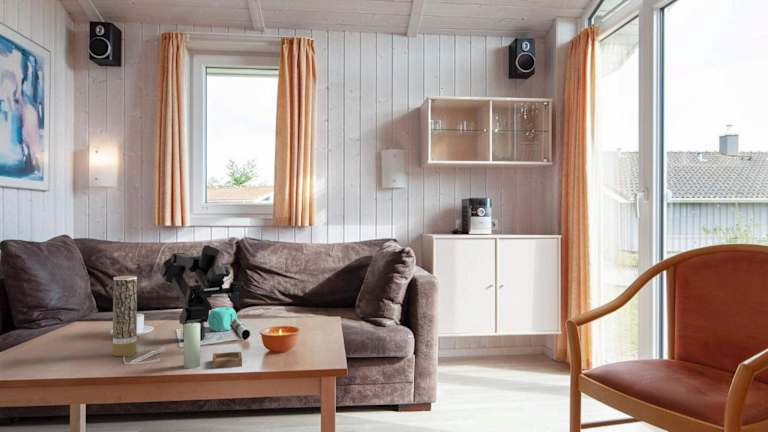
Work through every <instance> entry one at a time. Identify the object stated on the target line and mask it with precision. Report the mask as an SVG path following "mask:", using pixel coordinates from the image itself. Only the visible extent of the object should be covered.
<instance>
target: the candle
mask: <svg viewBox="0 0 768 432" xmlns="http://www.w3.org/2000/svg"><path fill="white" fill-rule="evenodd" d="M199 367H201V341H200V323H193V322H192V323H187V324H184V341H183V368H184V369H196V368H199Z"/></svg>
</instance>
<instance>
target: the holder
mask: <svg viewBox="0 0 768 432" xmlns="http://www.w3.org/2000/svg"><path fill="white" fill-rule="evenodd" d="M211 366H212V369H223V368H234V367H235V368H237V367H242V366H243V355H242V351H230V352H216V353H215V352H213V353H212V364H211Z"/></svg>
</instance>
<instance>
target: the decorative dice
mask: <svg viewBox="0 0 768 432" xmlns="http://www.w3.org/2000/svg"><path fill="white" fill-rule="evenodd" d="M233 319H237V320H238V315H237V312H236V310H235V309H234V308H232V307H228V306H227V307H217V308H212V310H210V311H209V316H208V321H207V324H208V327H209V328H210V329H211V330H212V331H213V330H218V331H217V332H222V331H221V330H228V331H230V330H229V329H231V327H230V324H231V322H232V321H233Z"/></svg>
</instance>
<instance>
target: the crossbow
mask: <svg viewBox="0 0 768 432" xmlns="http://www.w3.org/2000/svg"><path fill="white" fill-rule="evenodd" d="M163 352H166V347H165V346H162V347H159V349H157V350H156V349H152V351H148V352H147V351H146V352H144V354H143V355H141V356H139V357H137V358H135V359H132V360H131V361H129V362H126V360H125V359H126V357H129V356H130V355H127V356H122V357H123V363H124V364H125V365H128V366H135V365H143V364H150V363H151V364H152V363H157V362H160V358H159V355H158V354H160V353H163ZM140 354H142V352H140V353H139V352H138V355H140ZM135 355H136V353H135V354H133V355H132V356H135ZM155 355H156V357H157V359H152V360H147V361H144V360H146V359H148V358H149V357H153V356H155Z"/></svg>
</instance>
